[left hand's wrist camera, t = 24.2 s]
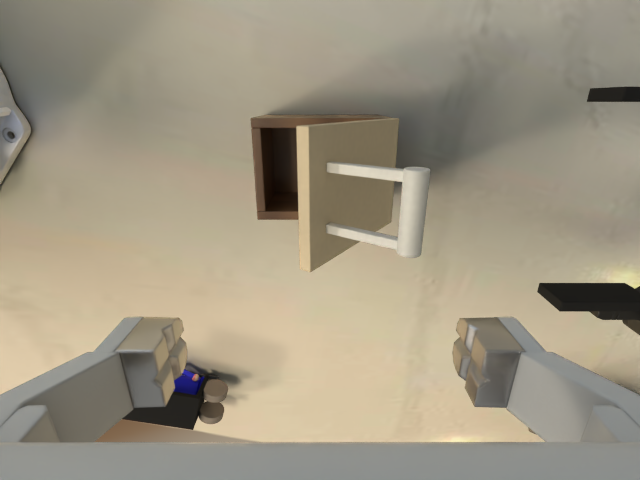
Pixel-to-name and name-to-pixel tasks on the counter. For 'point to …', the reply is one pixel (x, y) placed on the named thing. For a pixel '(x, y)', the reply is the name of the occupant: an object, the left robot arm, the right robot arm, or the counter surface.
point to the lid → (355, 190)
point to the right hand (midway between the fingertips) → (573, 206)
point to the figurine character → (187, 403)
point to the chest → (283, 160)
